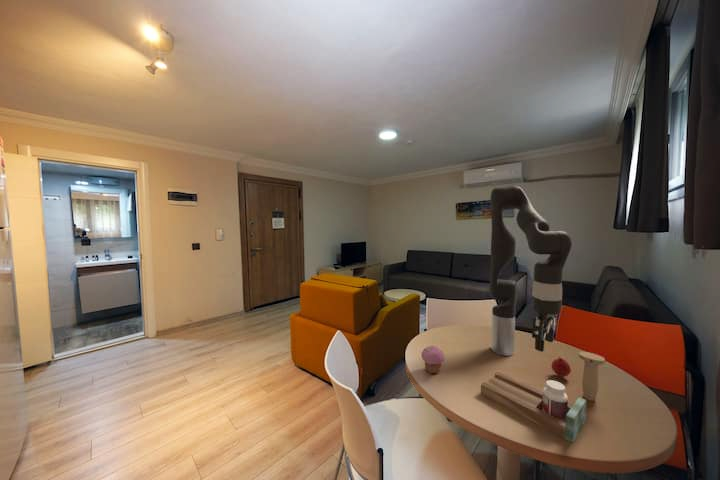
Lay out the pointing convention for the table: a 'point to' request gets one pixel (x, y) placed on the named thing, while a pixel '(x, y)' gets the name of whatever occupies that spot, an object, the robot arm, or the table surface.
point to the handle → (590, 374)
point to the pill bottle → (555, 400)
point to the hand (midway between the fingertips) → (544, 345)
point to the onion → (561, 367)
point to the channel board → (534, 405)
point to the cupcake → (432, 358)
